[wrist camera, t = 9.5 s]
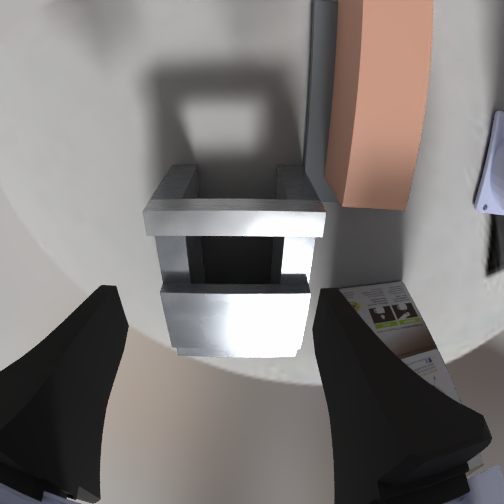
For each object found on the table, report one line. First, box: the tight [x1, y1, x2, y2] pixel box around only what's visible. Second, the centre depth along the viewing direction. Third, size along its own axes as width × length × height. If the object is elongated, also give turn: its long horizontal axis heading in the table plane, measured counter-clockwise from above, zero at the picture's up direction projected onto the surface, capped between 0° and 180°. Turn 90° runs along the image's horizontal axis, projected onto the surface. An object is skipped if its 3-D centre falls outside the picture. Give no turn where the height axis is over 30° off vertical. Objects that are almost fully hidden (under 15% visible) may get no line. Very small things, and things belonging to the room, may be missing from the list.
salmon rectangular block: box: [324, 0, 433, 211], centre depth 13 cm, size 4×11×4 cm, turn 178°
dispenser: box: [143, 165, 326, 357], centre depth 19 cm, size 8×11×6 cm
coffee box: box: [339, 281, 484, 477], centre depth 19 cm, size 9×6×16 cm
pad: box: [303, 0, 339, 202], centre depth 16 cm, size 6×12×1 cm, turn 179°
